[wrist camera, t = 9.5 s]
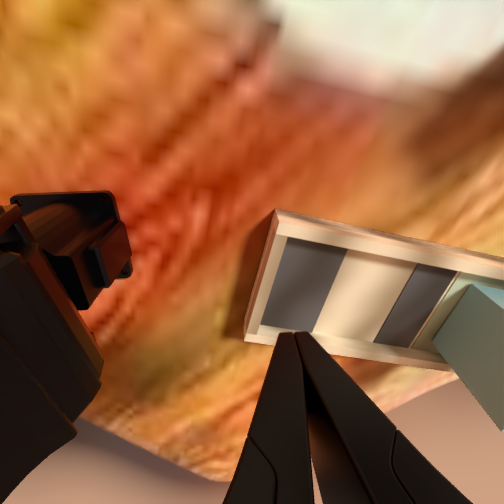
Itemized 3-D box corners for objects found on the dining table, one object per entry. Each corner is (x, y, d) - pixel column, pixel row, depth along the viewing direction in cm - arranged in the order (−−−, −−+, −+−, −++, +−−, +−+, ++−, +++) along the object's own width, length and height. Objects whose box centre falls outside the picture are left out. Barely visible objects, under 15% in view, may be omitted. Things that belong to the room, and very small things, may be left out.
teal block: (431, 341, 25) (501, 431, 18) (471, 283, 22) (570, 363, 15) (462, 346, 25) (542, 436, 19) (506, 290, 22) (616, 371, 16)
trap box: (243, 319, 25) (244, 341, 23) (275, 208, 20) (279, 222, 18) (453, 352, 28) (471, 375, 25) (521, 261, 23) (551, 279, 21)
